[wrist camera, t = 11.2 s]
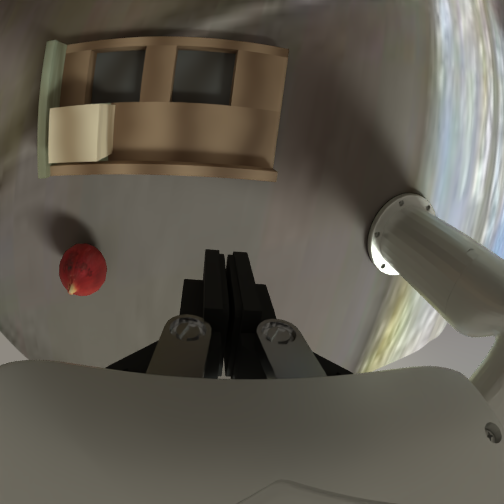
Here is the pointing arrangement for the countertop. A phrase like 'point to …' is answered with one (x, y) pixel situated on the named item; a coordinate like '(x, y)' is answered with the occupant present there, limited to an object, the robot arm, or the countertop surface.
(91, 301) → the countertop surface
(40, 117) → the track
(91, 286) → the onion
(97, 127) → the block
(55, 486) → the robot arm
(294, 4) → the countertop surface
